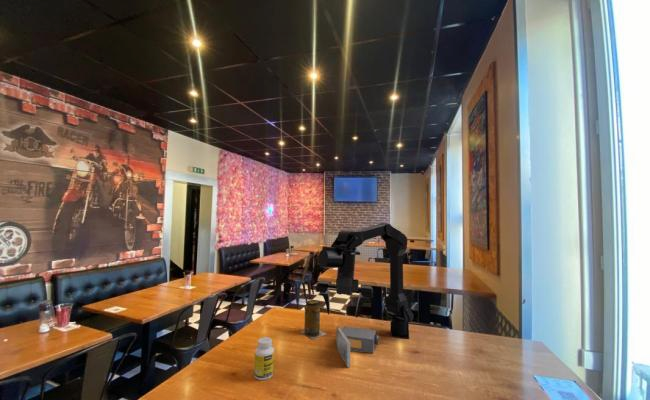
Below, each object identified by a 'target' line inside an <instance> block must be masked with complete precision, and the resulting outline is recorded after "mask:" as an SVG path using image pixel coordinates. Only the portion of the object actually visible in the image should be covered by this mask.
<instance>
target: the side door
mask: <svg viewBox="0 0 650 400" xmlns="http://www.w3.org/2000/svg"><path fill="white" fill-rule="evenodd" d="M336 350H337V351H338V354H339V355H340V357H341V358H342V360H343V362H344V364H345V367H347V368H350V367H351V350H350V342H349V340H348V339H347V337H346V336H345V334H344V333H343V332H342V328H340V329H338V339H337V338H336Z"/></svg>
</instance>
